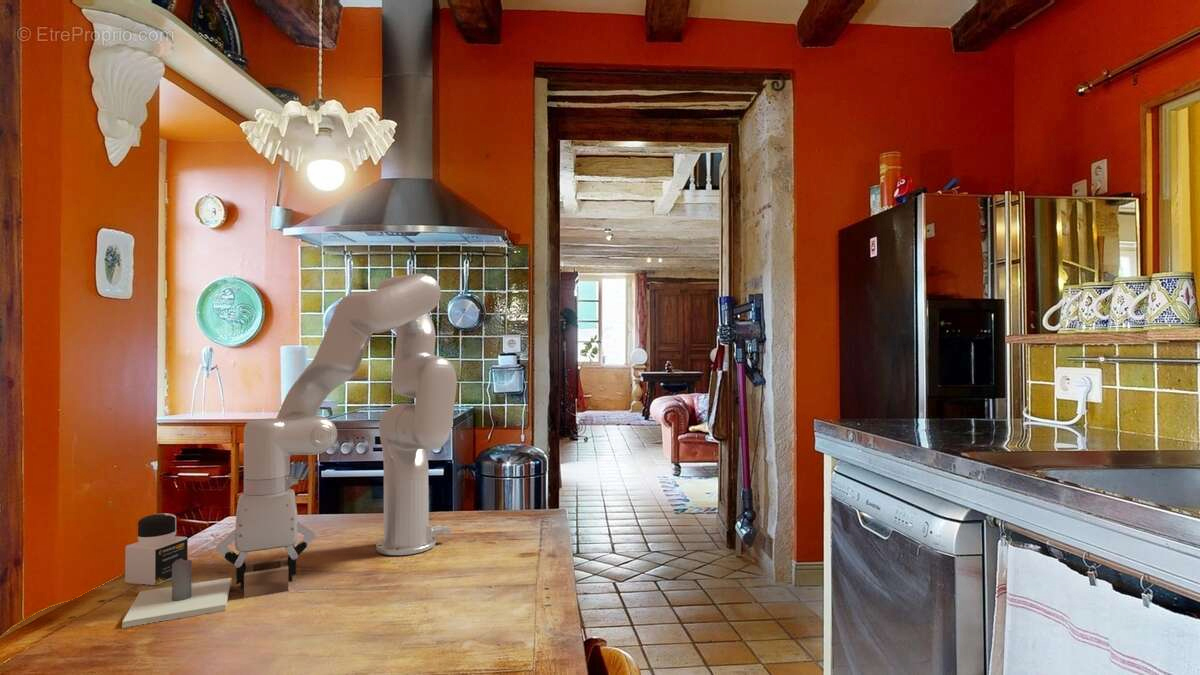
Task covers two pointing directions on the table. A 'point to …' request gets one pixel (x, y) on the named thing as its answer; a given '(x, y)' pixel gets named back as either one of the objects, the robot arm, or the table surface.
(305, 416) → the robot arm
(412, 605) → the table surface
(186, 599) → the post stand
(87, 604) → the table surface
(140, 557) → the medicine bottle
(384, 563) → the table surface
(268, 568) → the walnut ring
